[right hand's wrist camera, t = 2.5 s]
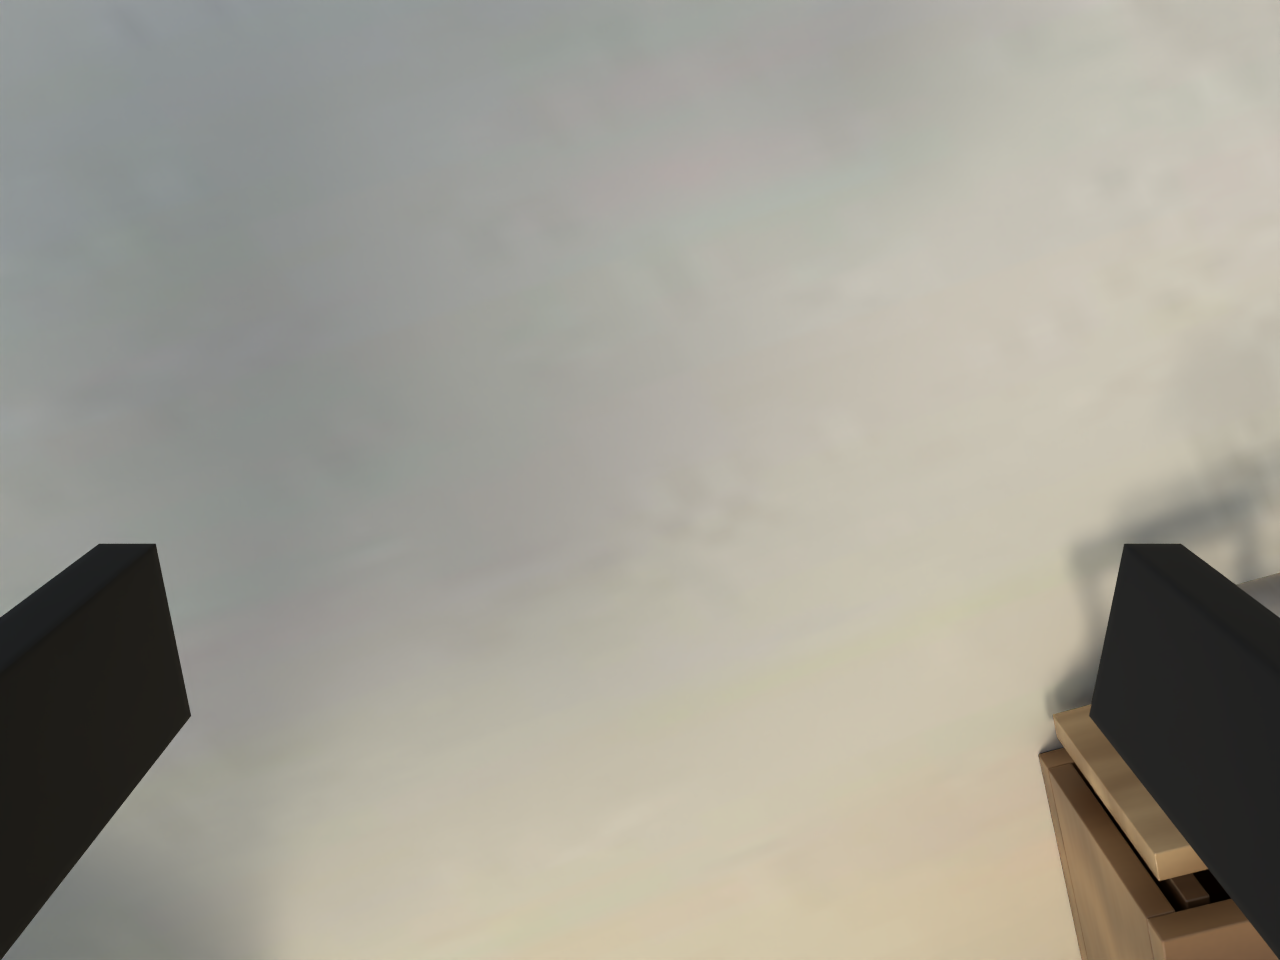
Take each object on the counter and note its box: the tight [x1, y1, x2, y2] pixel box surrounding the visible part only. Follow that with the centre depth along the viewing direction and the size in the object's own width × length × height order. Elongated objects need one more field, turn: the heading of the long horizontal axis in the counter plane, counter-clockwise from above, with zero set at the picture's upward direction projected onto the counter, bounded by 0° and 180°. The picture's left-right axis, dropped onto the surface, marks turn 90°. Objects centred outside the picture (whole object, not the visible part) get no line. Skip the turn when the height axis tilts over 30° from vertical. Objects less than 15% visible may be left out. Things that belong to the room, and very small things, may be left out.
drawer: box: [1053, 573, 1280, 912], centre depth 35 cm, size 26×10×8 cm, turn 18°
